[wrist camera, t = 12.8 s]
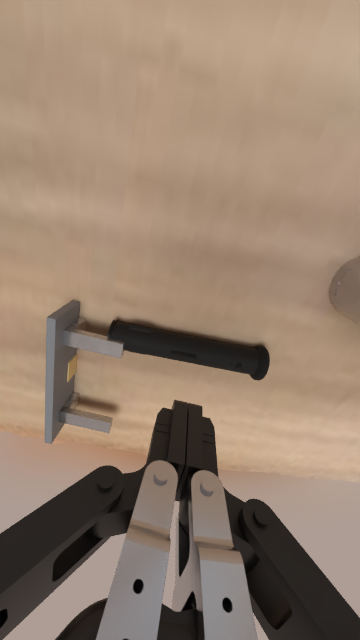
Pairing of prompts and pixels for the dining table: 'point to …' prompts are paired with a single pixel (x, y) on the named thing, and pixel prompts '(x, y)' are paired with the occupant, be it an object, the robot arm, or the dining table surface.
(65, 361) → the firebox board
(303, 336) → the dining table surface
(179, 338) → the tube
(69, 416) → the grey u-shaped bracket
